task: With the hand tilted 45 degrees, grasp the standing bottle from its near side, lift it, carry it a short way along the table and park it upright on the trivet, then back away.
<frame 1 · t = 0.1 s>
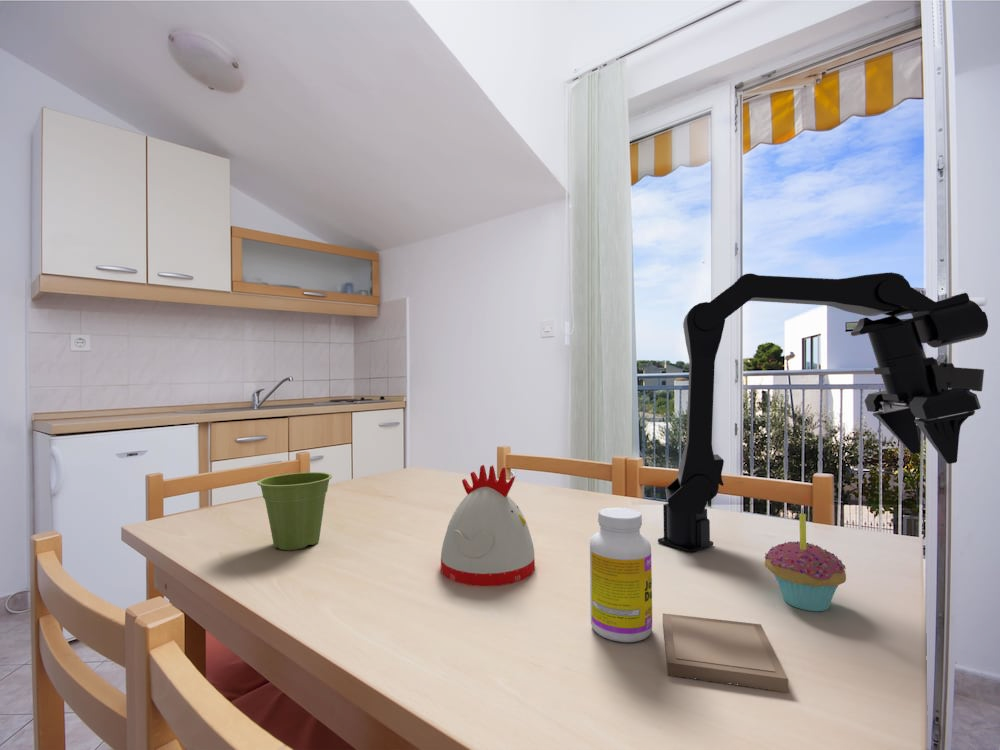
hand: (932, 458, 73), 15 cm above the table, tool pointing down, fingers open, 9 cm apart
kitchen timer: (488, 567, 73), on the table
plant pot: (296, 545, 85), on the table
trivet: (717, 654, 49), on the table
supplement bottle: (621, 631, 55), on the table
cupcake: (804, 604, 61), on the table
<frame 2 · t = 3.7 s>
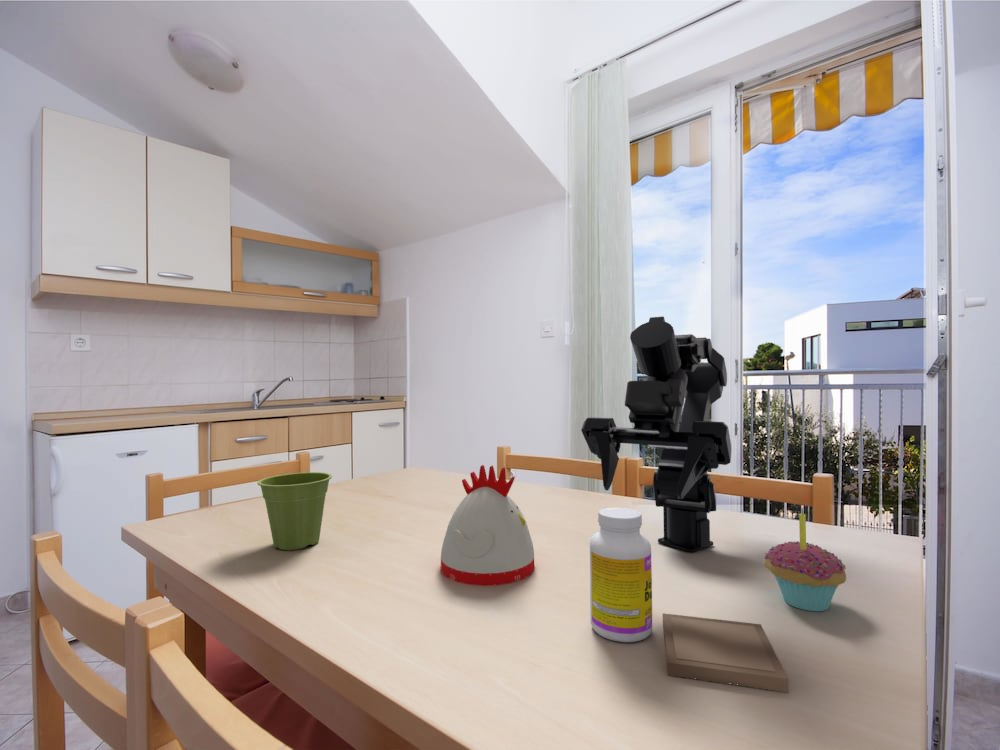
hand: (641, 492, 62), 13 cm above the table, tool tilted 45°, fingers open, 9 cm apart
nothing on the table moved.
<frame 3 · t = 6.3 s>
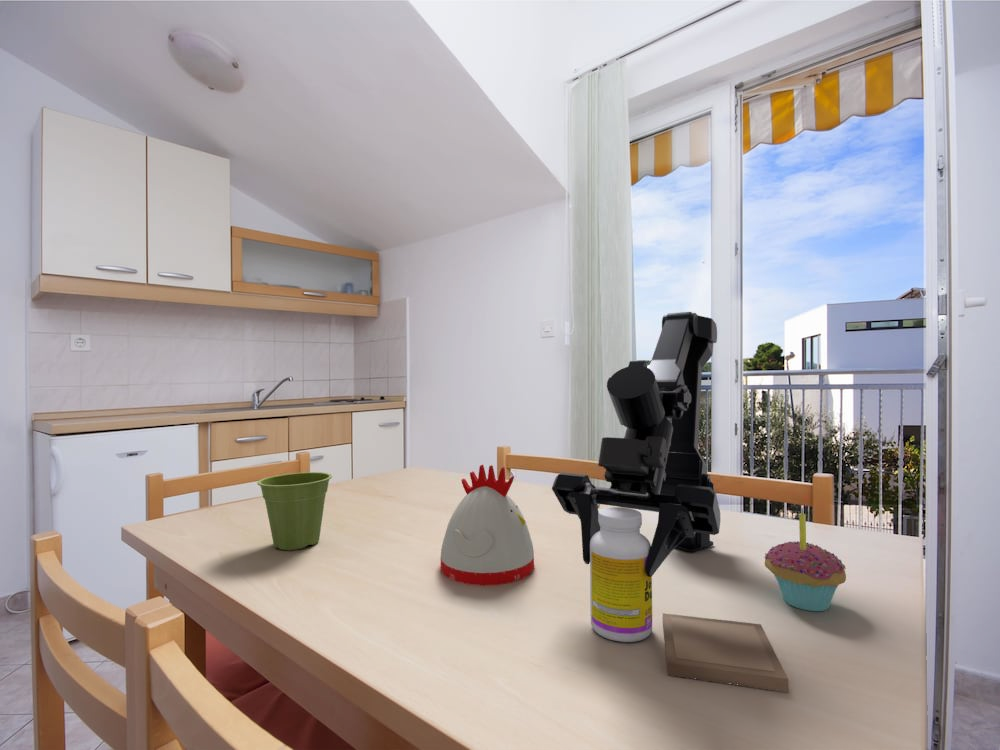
hand: (615, 568, 53), 7 cm above the table, tool tilted 45°, fingers closed on supplement bottle, 7 cm apart
supplement bottle: (621, 630, 55), on the table, touching gripper
everything else where it was.
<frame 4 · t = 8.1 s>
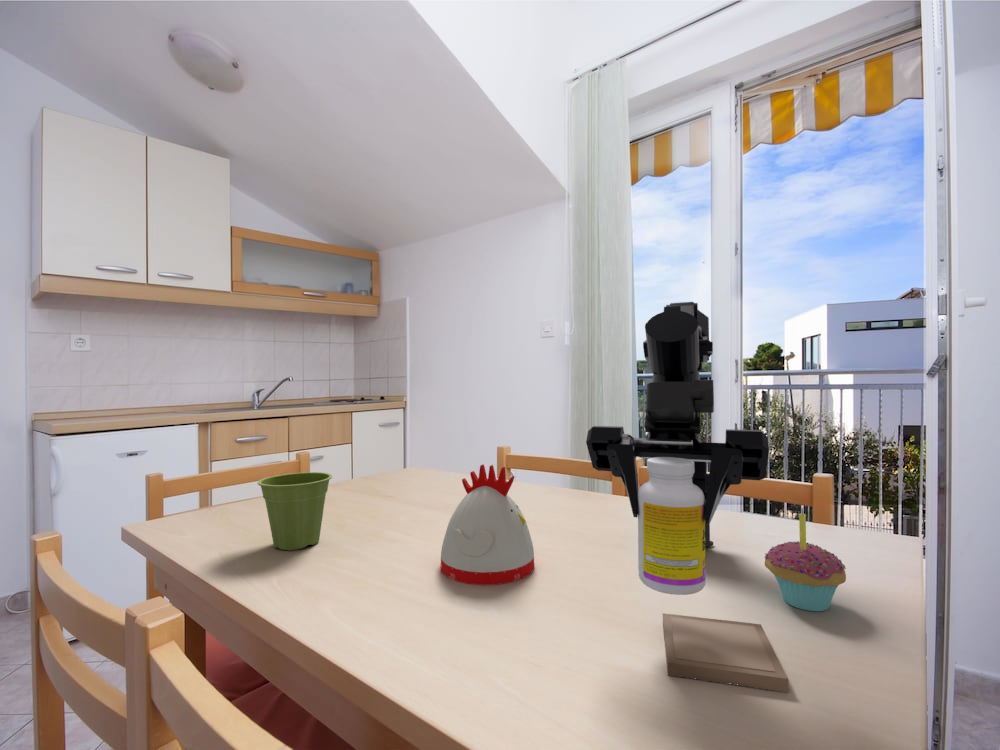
hand: (670, 518, 50), 13 cm above the table, tool tilted 45°, fingers closed on supplement bottle, 7 cm apart
kitchen timer: (487, 566, 74), on the table, touching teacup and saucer
supplement bottle: (671, 585, 52), point 6 cm above the table, touching gripper
when the fingers open (9 cm above the table, at t = 9.6 s): supplement bottle stays where it is, resting on trivet.
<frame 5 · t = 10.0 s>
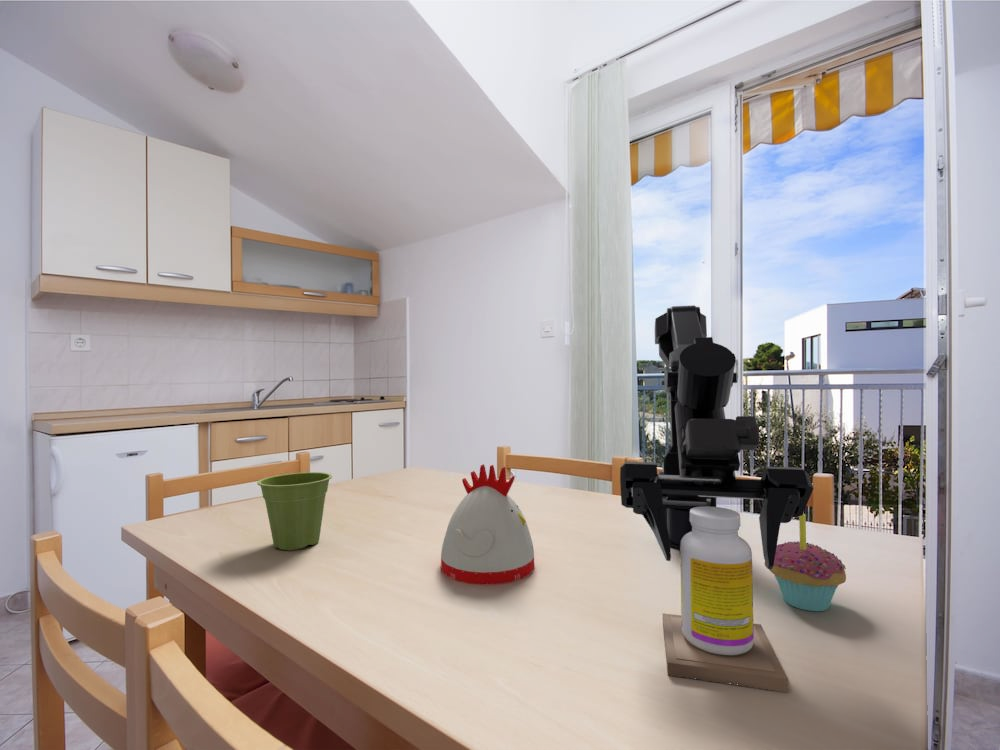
hand: (718, 563, 48), 10 cm above the table, tool tilted 45°, fingers open, 9 cm apart
kitchen timer: (487, 566, 74), on the table
supplement bottle: (716, 642, 50), point 1 cm above the table, touching trivet
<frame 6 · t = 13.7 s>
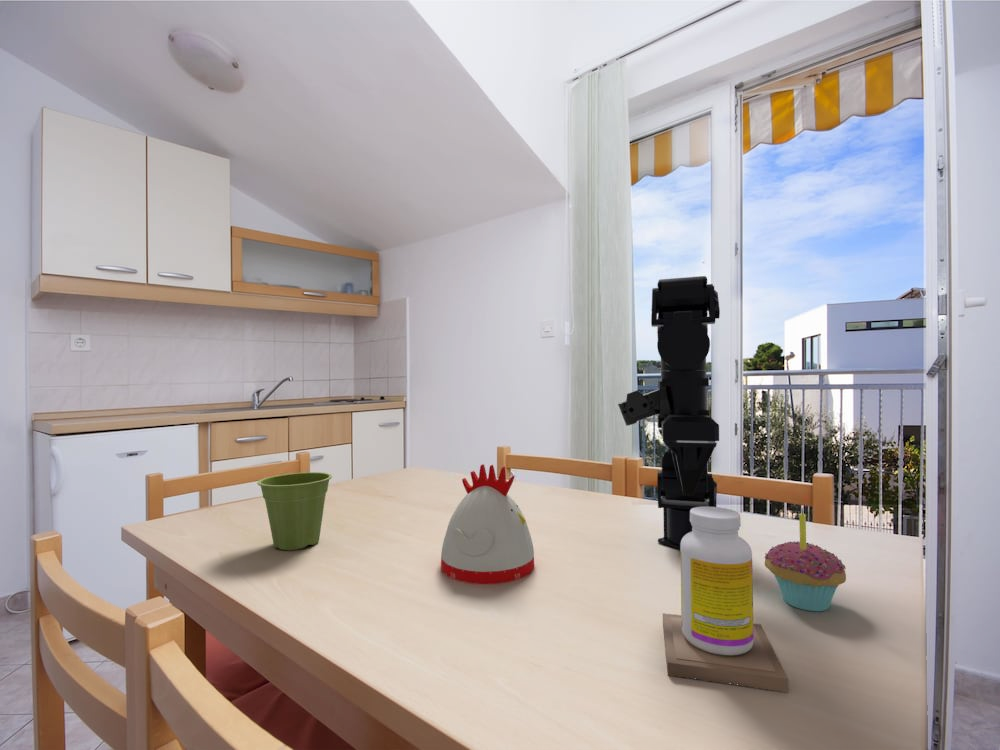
hand: (684, 487, 66), 13 cm above the table, tool pointing down, fingers open, 9 cm apart
kitchen timer: (488, 566, 74), on the table, touching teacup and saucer
at the end: supplement bottle 0.2 cm from the trivet (horizontally); supplement bottle tilted 0°; supplement bottle touching trivet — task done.
